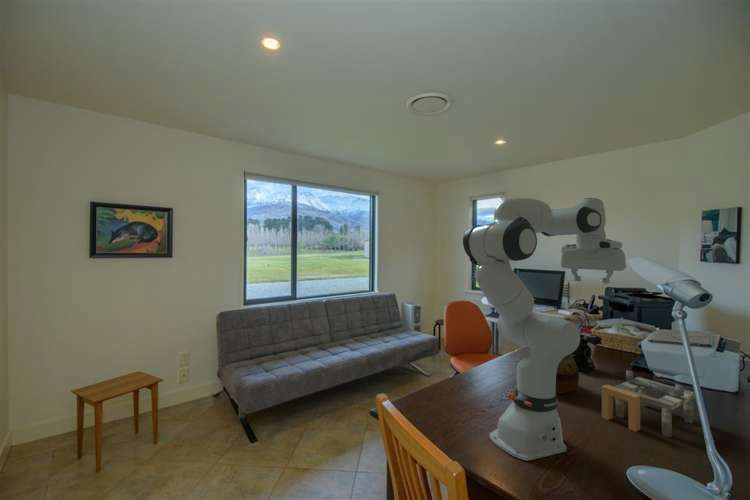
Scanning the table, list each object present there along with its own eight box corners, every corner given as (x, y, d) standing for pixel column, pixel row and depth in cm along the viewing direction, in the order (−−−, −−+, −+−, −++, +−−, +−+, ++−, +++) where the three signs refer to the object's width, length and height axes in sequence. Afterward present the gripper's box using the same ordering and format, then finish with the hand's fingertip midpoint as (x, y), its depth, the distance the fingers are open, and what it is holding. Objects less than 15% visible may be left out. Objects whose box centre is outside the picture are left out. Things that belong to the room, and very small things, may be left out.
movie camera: (609, 368, 156) (606, 331, 156) (589, 377, 147) (586, 339, 148) (549, 352, 183) (546, 322, 183) (528, 360, 175) (525, 327, 175)
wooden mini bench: (640, 429, 105) (640, 395, 105) (635, 431, 104) (635, 397, 104) (606, 415, 114) (606, 384, 114) (601, 417, 113) (601, 386, 113)
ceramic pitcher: (530, 394, 131) (529, 320, 131) (523, 375, 150) (522, 311, 150) (586, 400, 125) (585, 323, 125) (570, 380, 145) (570, 313, 144)
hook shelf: (671, 438, 100) (670, 393, 100) (613, 415, 114) (612, 375, 114) (696, 422, 109) (695, 381, 108) (639, 402, 123) (639, 366, 123)
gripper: (557, 244, 123) (557, 280, 124) (619, 243, 106) (619, 285, 106) (566, 244, 127) (566, 279, 127) (627, 243, 109) (628, 284, 109)
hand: (591, 282), depth 116 cm, fingers open, 8 cm apart
